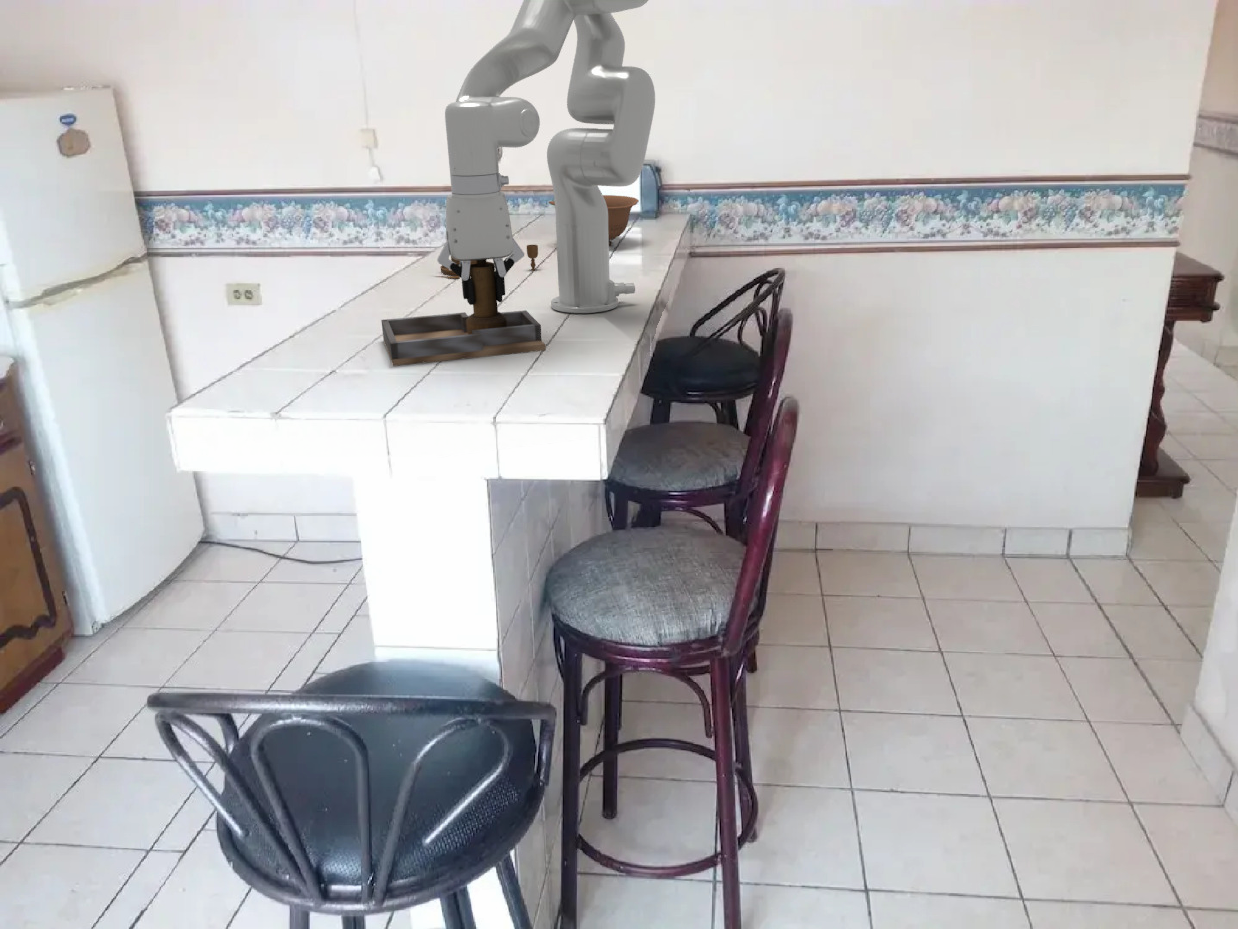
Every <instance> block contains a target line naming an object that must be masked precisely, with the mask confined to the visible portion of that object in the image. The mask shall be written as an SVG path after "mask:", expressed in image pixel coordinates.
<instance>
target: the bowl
mask: <svg viewBox="0 0 1238 929" xmlns="http://www.w3.org/2000/svg"><path fill="white" fill-rule="evenodd" d="M602 195H603V197H604V199H605V202H606V205H607V209H608V236H609V247H611V246H612V245H614V243H613V242H612V240H615V239H616V238H618V237H619V236H621V235H623V234H624V232H625V231H626V229H627V227H628V224H629V218H630V213H631V210H632V208H633V207H634V206H636V205H637V204H638V203H639V199H638V198H636V197H632V196H626V195H614V194H613V195H611V194H610V195H608V194H602ZM548 204H550V205H551V206H554V207H555V200H549V201H548Z"/></svg>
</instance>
